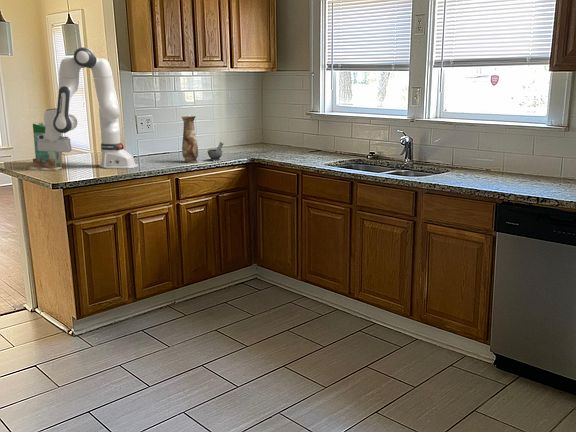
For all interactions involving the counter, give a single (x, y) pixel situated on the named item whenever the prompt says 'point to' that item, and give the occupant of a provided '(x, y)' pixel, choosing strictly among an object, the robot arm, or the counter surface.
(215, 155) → the mortar and pestle
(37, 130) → the milk carton
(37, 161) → the jig
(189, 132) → the vase
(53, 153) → the pale green flat box
